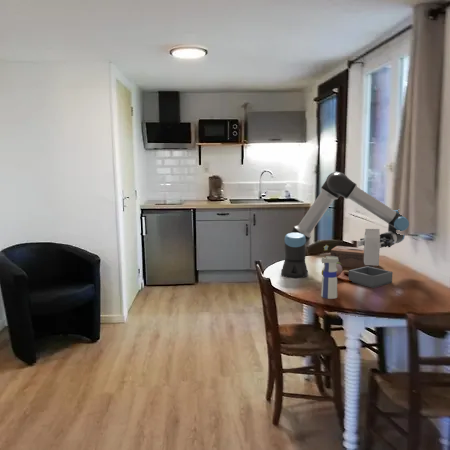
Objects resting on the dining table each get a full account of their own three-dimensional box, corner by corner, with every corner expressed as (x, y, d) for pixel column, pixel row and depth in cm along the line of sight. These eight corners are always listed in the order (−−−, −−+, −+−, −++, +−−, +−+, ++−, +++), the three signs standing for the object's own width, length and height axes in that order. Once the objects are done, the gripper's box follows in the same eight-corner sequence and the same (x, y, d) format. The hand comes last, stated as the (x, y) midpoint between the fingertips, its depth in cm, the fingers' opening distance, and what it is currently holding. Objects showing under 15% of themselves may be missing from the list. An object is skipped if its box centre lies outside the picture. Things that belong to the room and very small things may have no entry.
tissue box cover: (377, 265, 284) (378, 249, 283) (373, 270, 272) (373, 254, 270) (336, 260, 297) (337, 245, 295) (330, 265, 284) (330, 249, 283)
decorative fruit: (335, 275, 260) (336, 258, 258) (344, 279, 252) (345, 261, 251) (321, 277, 256) (322, 259, 255) (330, 281, 249) (330, 263, 247)
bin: (373, 287, 235) (373, 276, 234) (348, 281, 248) (348, 270, 247) (392, 282, 244) (392, 271, 244) (367, 276, 257) (367, 266, 256)
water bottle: (316, 296, 222) (317, 245, 218) (326, 292, 228) (327, 243, 224) (331, 300, 216) (332, 248, 212) (340, 296, 222) (342, 245, 218)
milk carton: (378, 265, 241) (380, 230, 238) (364, 265, 242) (366, 229, 239) (377, 262, 248) (378, 228, 245) (363, 262, 249) (364, 227, 246)
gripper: (406, 248, 249) (388, 255, 233) (368, 243, 264) (348, 249, 248) (407, 234, 248) (388, 240, 232) (368, 230, 263) (348, 235, 247)
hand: (367, 245), depth 240 cm, fingers closed on milk carton, 10 cm apart
